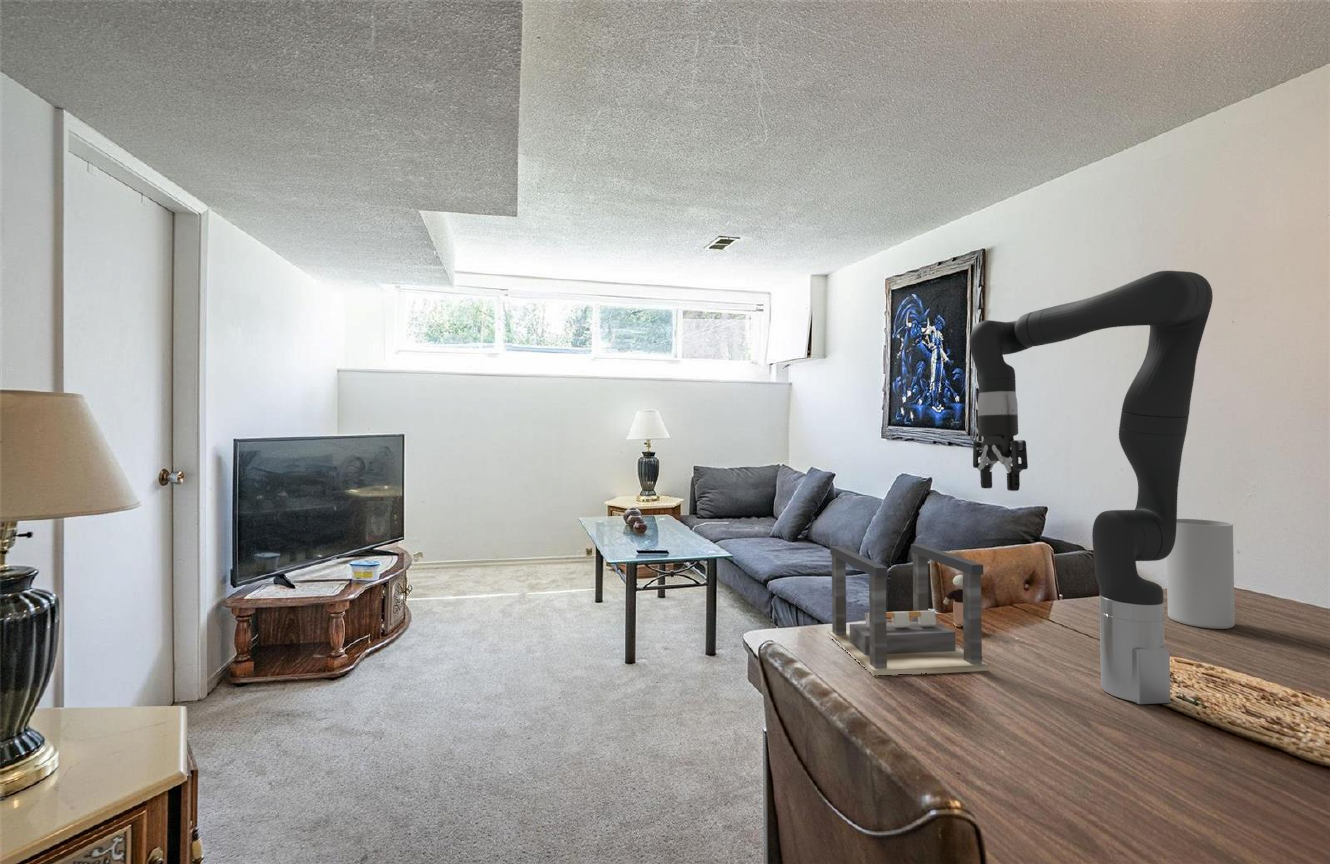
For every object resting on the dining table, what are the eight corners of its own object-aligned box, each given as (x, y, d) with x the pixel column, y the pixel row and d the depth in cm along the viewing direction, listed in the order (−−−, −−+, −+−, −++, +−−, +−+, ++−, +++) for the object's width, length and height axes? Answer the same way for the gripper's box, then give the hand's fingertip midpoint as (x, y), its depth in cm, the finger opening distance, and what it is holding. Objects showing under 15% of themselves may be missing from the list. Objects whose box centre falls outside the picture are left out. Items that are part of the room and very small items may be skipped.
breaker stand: (988, 670, 120) (987, 574, 120) (873, 676, 118) (872, 578, 118) (924, 632, 144) (923, 551, 144) (827, 636, 142) (827, 554, 142)
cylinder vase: (1157, 618, 153) (1155, 520, 154) (1183, 612, 159) (1182, 517, 159) (1218, 632, 142) (1217, 527, 142) (1245, 625, 147) (1243, 523, 148)
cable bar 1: (887, 577, 118) (887, 567, 118) (876, 578, 118) (876, 567, 118) (840, 554, 142) (840, 545, 142) (830, 554, 142) (830, 546, 142)
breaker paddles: (936, 624, 131) (934, 611, 132) (869, 627, 129) (868, 613, 130) (932, 623, 133) (930, 610, 133) (866, 626, 131) (865, 612, 132)
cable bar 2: (983, 574, 120) (983, 564, 120) (972, 574, 120) (971, 564, 120) (920, 552, 144) (920, 543, 144) (911, 552, 144) (910, 543, 144)
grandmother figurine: (973, 624, 150) (973, 573, 150) (980, 629, 146) (979, 577, 146) (941, 623, 150) (941, 573, 151) (947, 628, 147) (946, 576, 147)
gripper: (1037, 411, 122) (1040, 491, 122) (992, 415, 137) (993, 487, 136) (1003, 411, 122) (1005, 492, 121) (961, 415, 136) (962, 487, 135)
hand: (999, 489), depth 129 cm, fingers open, 8 cm apart
